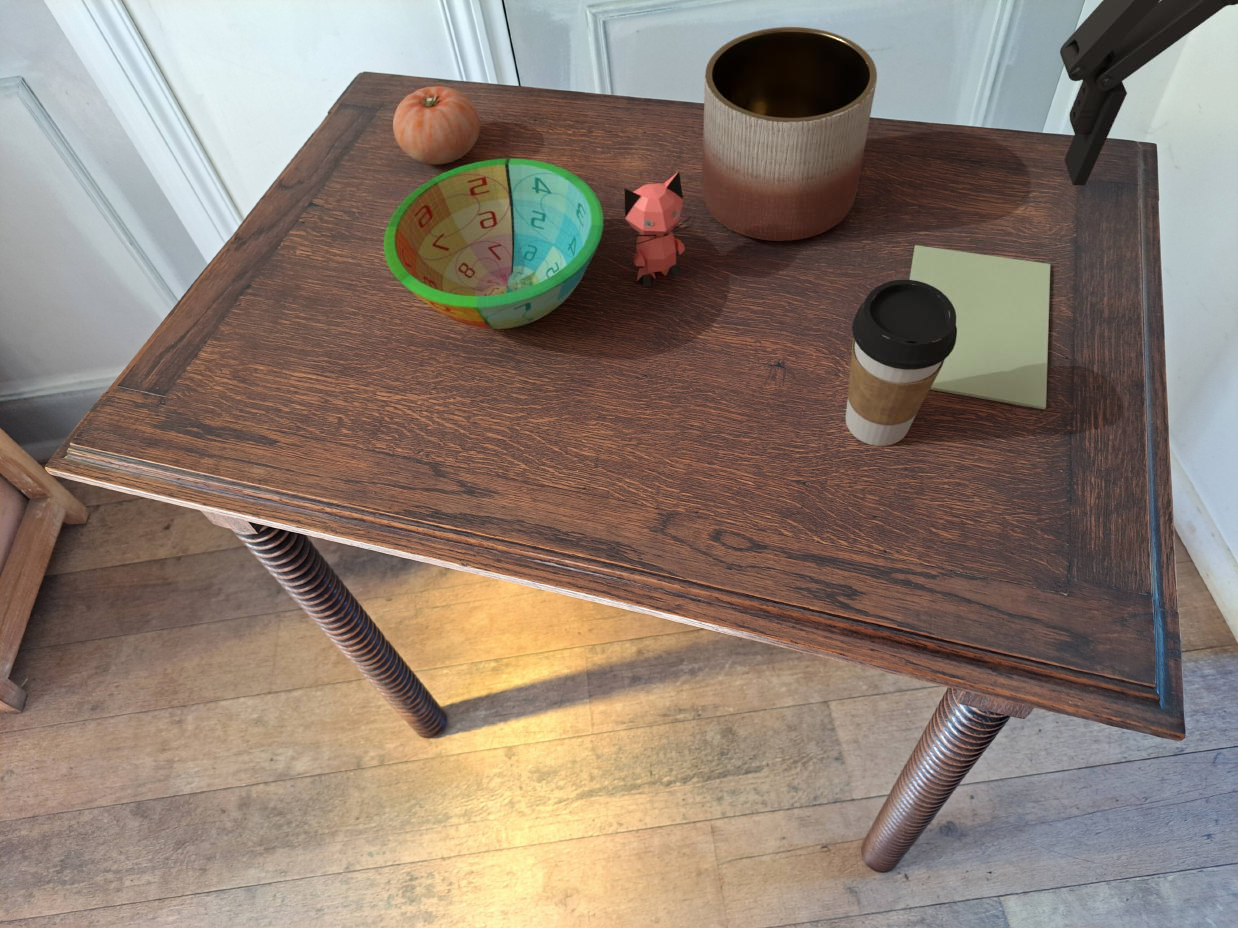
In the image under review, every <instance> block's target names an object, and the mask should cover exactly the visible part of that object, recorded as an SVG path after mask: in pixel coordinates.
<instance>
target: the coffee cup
mask: <svg viewBox="0 0 1238 928" xmlns="http://www.w3.org/2000/svg"><path fill="white" fill-rule="evenodd" d="M851 331H852V337H853V339H852V344H851V354H850V365H849V377H848V388H847V389H848V390H847V402H846V410H845V424H846V427H847V429H848V430H849V432H850V433H851V434H852V436H853V437H854V438H856V439H857V440H858V441H861V442H862V443H864V444H867V445H869V446H876V447H886V446H891V445H894V444H897V443H898V442H900V441H901V440H903V439H904V438H905V436H907V434H908V432H909V430H910V429H911V426H912V424H913V422H914V420H915V418H916V416H917V414H918V413H919V410H920V409H921V408H922V405H923V403H924V402H925V400H926V398H927V396H928V394H929V392H930V391H931V390H930V388H931V386H932V385H933V383H934V381H935V379H936V377H937V375H938V373H939V371H940V370H941V368H942V366H943V363H944V360H945V358H947V357H948V356H949V355H950V353H951V352H952V350H953V349H954V346H955V343H956V338H957V327H956V312H955V309H954V307H953V305H952V303H951V301H950V300H949V299H948V297H947V296H946V295H944V294H943V293H942V292H941V291H940V290H938V289H936V288H935V287H933V286H931V285H929V284H926V283H923V282H920V281H915V280H909V279H894V280H890V281H885V282H884V283H880V285H878V286H876V287H875V288H873V289H872V290H871V291H870V292H869V293H868V294H867V296H866V298H865V300H864V301H863V302H862V304H861V305H860V306H859V308H858V309H857V310H856V313H855V316H854V318H853V320H852V326H851Z"/></svg>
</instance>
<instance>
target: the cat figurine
mask: <svg viewBox="0 0 1238 928" xmlns="http://www.w3.org/2000/svg"><path fill="white" fill-rule="evenodd" d="M680 174H681V173H680V171H679V170H678V171H677V172H675V174H673V175H672V176H671V177H670V178H669V179H667V180H665V182H658V183H647V184H643V185H641V187H638V188H637V189H635V190H634V191H632V190H630V189H627V188H624V219H625V220H626V222H627V223H628V225H629V226H630V227H631V228H632V229H633V230H635V231H637V232H638V233H639V234H634V236H636V237H637V239H636V243H635V245H636V253H635V255H634V257H633V263H634V265H635V266H636V267H637V268H639V269H638V271H637V278H636V281H637V283H638V284H640V285H641V286H642V287H649V286H650V287H651V286H652V285H654V282H656V280H657V279H656V274H655V273H656V272H660V273H662V274H663V275H664V276H665V277H671V278H677V277H678V276H679V275H681V274H682V272H681V267H680V265H678V264H677V253H678V254H679V256H681V255H682V254H683V253H684V252H685V251H686V249H685V244H684V243H682V239H678V238H675V235H674V234H673V233H676V232H680V231H683V230H686V229H689V228H690V227H691V226H692V225H693V223H692V224H691V225H689V226H686V227H683V228H680V229H677V228H679V227H680V226H681V225H683V224H684V223H686V222H687V221H689V220H690V218H691V217H689V218H687V219H685V221H683V222H682V223H680V224H679V225H678V223H679V221H680V220H681V214H682V209H683V203H684V196H683V195H684V194H683V189H682V183H681V182H682V181H681V175H680ZM672 230H674V231H672ZM630 236H632V234H630Z"/></svg>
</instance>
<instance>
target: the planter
mask: <svg viewBox="0 0 1238 928" xmlns="http://www.w3.org/2000/svg"><path fill="white" fill-rule="evenodd" d="M877 71H878V70H877V67H876V64H875V62H874V60H873V58H872V57H871V56H870V55H869V53H868V52H867V51H866V50H865V49H864V48H863V47H861V46H860V45H858V44H857V43H856V42H854V41H852V40H850V39H849V38H847V37H844V36H842V35H839V34H837V33H834V32H831V31H827V30H823V29H818V28H812V27H804V26H781V27H770V28H764V29H759V30H755V31H751V32H748V33H745V34H743V35H740V36H738V37H735V38H733V39H732V40H730V41H728V42H726V43H725V44H723V45H722V46H721V47H719V49H717V50H716V51H715V52H714V53H713V54H712V56H711V57H710V59H709V61H708V62H707V65H706V67H705V71H704V97H703V98H704V100H703V131H702V132H703V133H702V159H701V192H702V193H701V194H702V199H703V202H704V205H705V207H706V209H707V210H708V211H709V213H710V215H711V216H712V217H713V218H714V219H715V220H716V221H717V222H719V224H721V225H722V226H724V227H725V228H727V229H729V230H731V231H733V232H735V233H737V234H740V235H741V236H744V237H747V238H751V239H755V240H761V241H767V242H790V241H791V242H793V241H799V240H804V239H807V238H812V237H815V236H818V235H820V234H822V233H825V232H827V231H828V230H830V229H832V228H834V227H835V226H837V225H838V224H839V223H840V222H842V221H843V220H844V219H845V217H847V216H848V214H849V212H850V211H851V209H852V207H853V205H854V202H855V199H856V196H857V191H858V186H859V182H860V176H861V170H862V164H863V159H864V153H865V147H866V141H867V136H868V130H869V124H870V118H871V113H872V110H873V109H872V108H873V103H874V98H875V92H876V87H877V81H878V72H877Z"/></svg>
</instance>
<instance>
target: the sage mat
mask: <svg viewBox="0 0 1238 928" xmlns="http://www.w3.org/2000/svg"><path fill="white" fill-rule="evenodd" d="M908 280H915V281H920V282H923V283H926V284H929V285H931V286H933V287H935V288H936V289H938V290H940V291H941V292H942V293H943V294H944V295H946V296H947V297H948V299H949V300H950V301H951V303H952V305H953V307H954V309H955V312H956V327H957V338H956V343H955V346H954V349H953V350H952V352H951V353H950V355H949V356H948V357H947V358H945V360H944V363H943V366H942V368H941V370H940V371H939V373H938V375H937V377H936V379H935V381H934V383H933V385H932V386H931V388H930V390H929V391H935V392H942V393H947V394H954V395H958V396H964V397H972V398H975V399H980V400H981V399H982V400H987V401H993V402H999V403H1005V404H1010V405H1015V406H1021V407H1028V408H1033V409H1039V410H1043V411H1045V410H1046V409H1047V388H1048V357H1049V355H1048V354H1049V326H1050V325H1049V321H1050V320H1049V319H1050V294H1051V293H1050V292H1051V290H1050V289H1051V288H1050V287H1051V263H1048V262H1047V263H1046V262H1040V261H1032V260H1024V259H1019V258H1018V259H1016V258H1010V257H1003V256H995V255H988V254H981V253H975V252H968V251H962V250H961V251H960V250H954V249H953V250H952V249H946V248H938V247H933V246H932V247H931V246H924V245H917V244H915V245H914V249H913V254H912V260H911V268H910V273H909V279H908Z"/></svg>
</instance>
